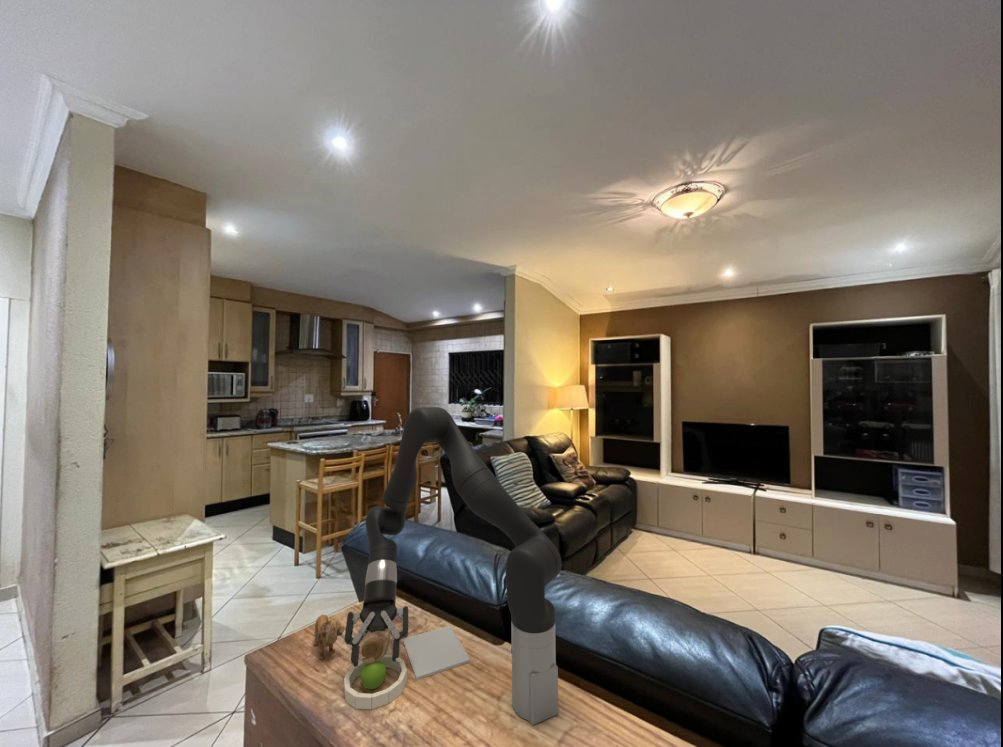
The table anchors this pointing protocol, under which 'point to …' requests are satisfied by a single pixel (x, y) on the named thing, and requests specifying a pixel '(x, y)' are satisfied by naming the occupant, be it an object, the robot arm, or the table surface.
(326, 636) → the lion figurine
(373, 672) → the snail figurine
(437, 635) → the rubber mat
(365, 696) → the ceramic ring
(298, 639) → the table surface
